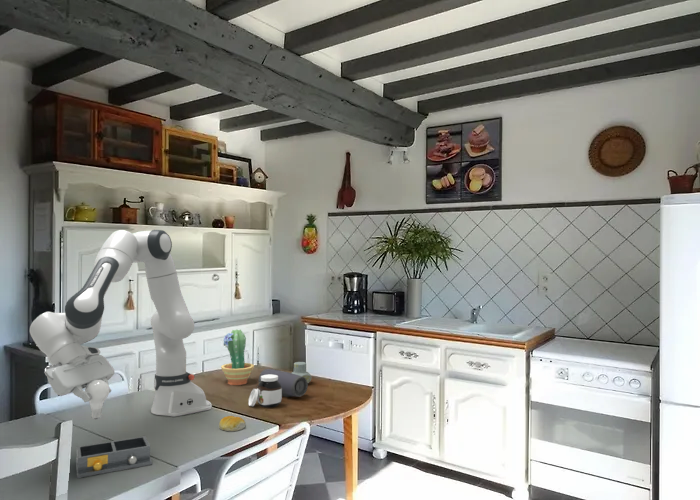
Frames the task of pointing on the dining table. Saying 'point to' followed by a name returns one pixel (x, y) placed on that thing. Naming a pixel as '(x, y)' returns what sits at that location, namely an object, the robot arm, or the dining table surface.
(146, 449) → the grey rectangular box
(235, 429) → the bread roll
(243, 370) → the potted cactus
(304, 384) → the bluetooth speaker
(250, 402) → the spread jar
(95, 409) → the lightbulb
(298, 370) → the air freshener
